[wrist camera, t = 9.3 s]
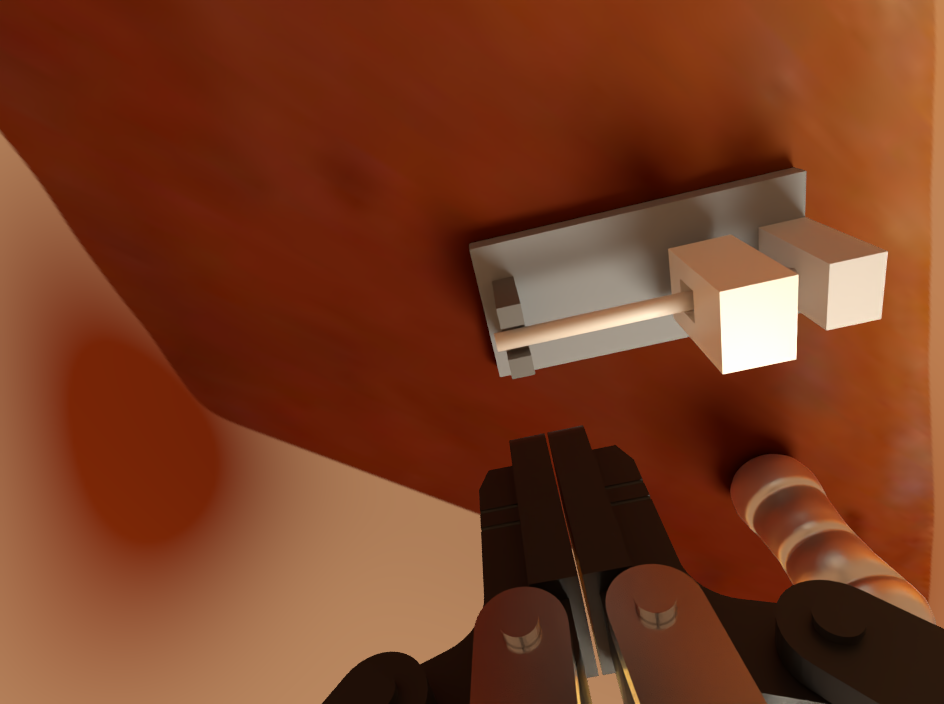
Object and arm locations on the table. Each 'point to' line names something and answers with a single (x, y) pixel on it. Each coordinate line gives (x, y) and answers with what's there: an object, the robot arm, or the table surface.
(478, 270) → the rod slider fixture
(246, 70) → the table surface
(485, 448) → the table surface
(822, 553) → the plastic bottle
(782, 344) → the sleeve
